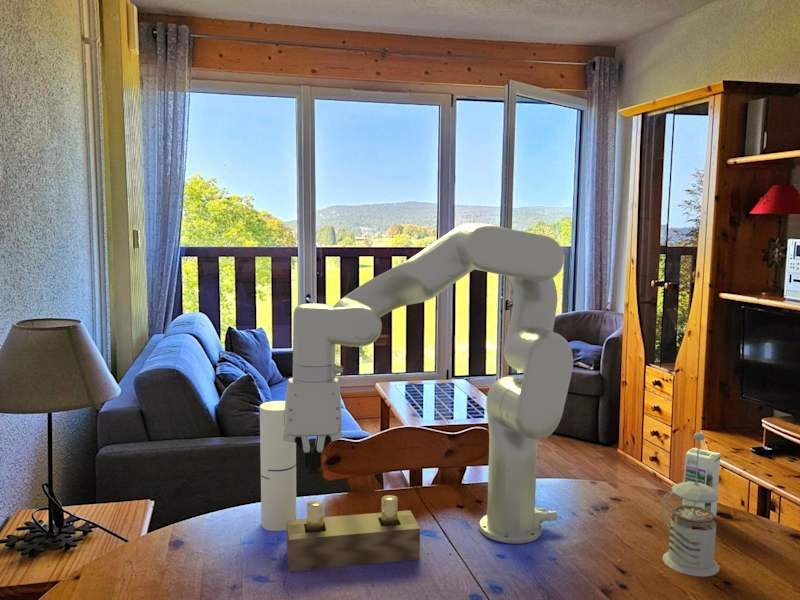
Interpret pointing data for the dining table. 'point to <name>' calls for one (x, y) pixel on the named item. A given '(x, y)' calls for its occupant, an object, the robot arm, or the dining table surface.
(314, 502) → the outer brass pin
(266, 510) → the cylindrical container
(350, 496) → the dining table surface
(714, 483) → the syrup box
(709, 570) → the french press
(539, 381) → the robot arm
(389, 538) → the tan peg holder block
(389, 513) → the inner brass pin
